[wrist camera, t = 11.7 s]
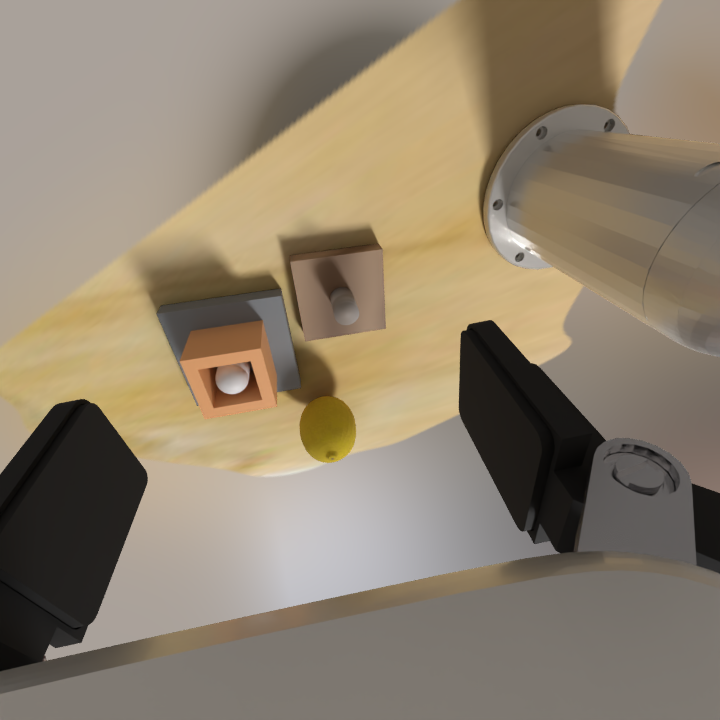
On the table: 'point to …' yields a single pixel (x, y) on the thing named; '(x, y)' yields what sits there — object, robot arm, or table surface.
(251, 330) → the collar
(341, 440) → the lemon
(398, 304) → the table surface
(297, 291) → the stand
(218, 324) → the plate
